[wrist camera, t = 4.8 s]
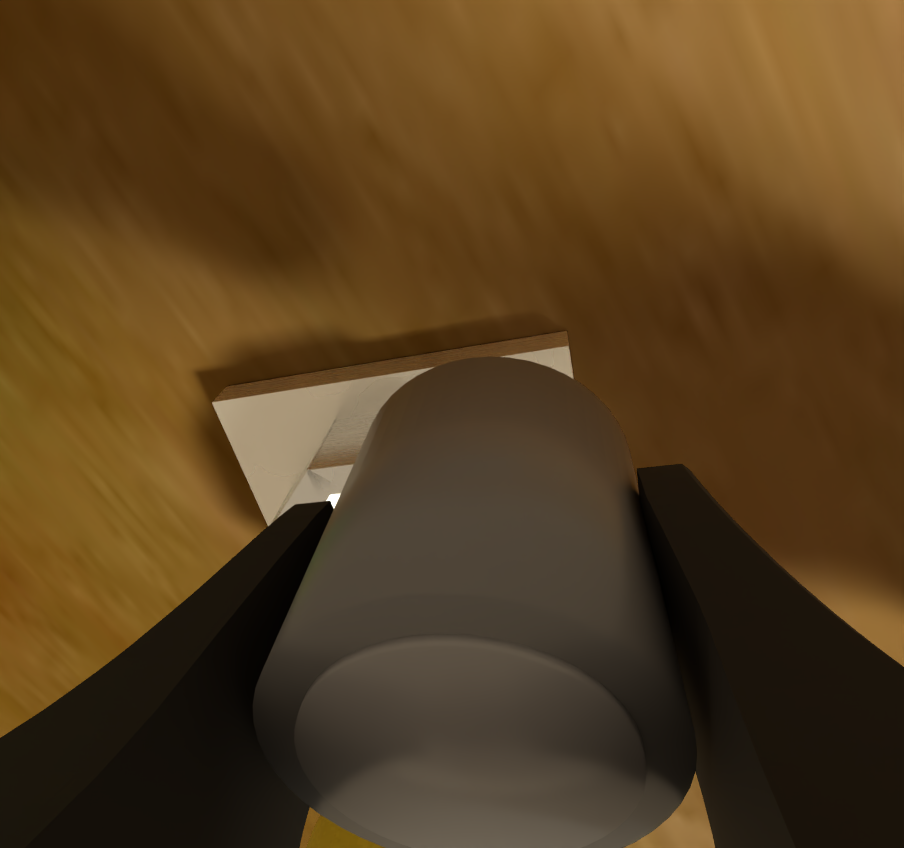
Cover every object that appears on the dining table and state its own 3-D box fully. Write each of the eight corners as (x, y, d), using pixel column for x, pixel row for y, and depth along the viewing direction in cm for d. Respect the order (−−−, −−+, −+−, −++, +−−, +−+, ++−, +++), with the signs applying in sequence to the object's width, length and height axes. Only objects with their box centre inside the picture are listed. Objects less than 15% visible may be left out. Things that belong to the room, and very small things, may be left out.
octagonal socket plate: (567, 330, 17) (573, 391, 14) (606, 604, 21) (618, 694, 18) (226, 386, 19) (167, 449, 16) (331, 625, 24) (300, 709, 21)
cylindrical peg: (622, 337, 9) (698, 590, 5) (639, 570, 12) (702, 888, 7) (330, 377, 10) (176, 620, 6) (397, 586, 13) (321, 878, 8)
